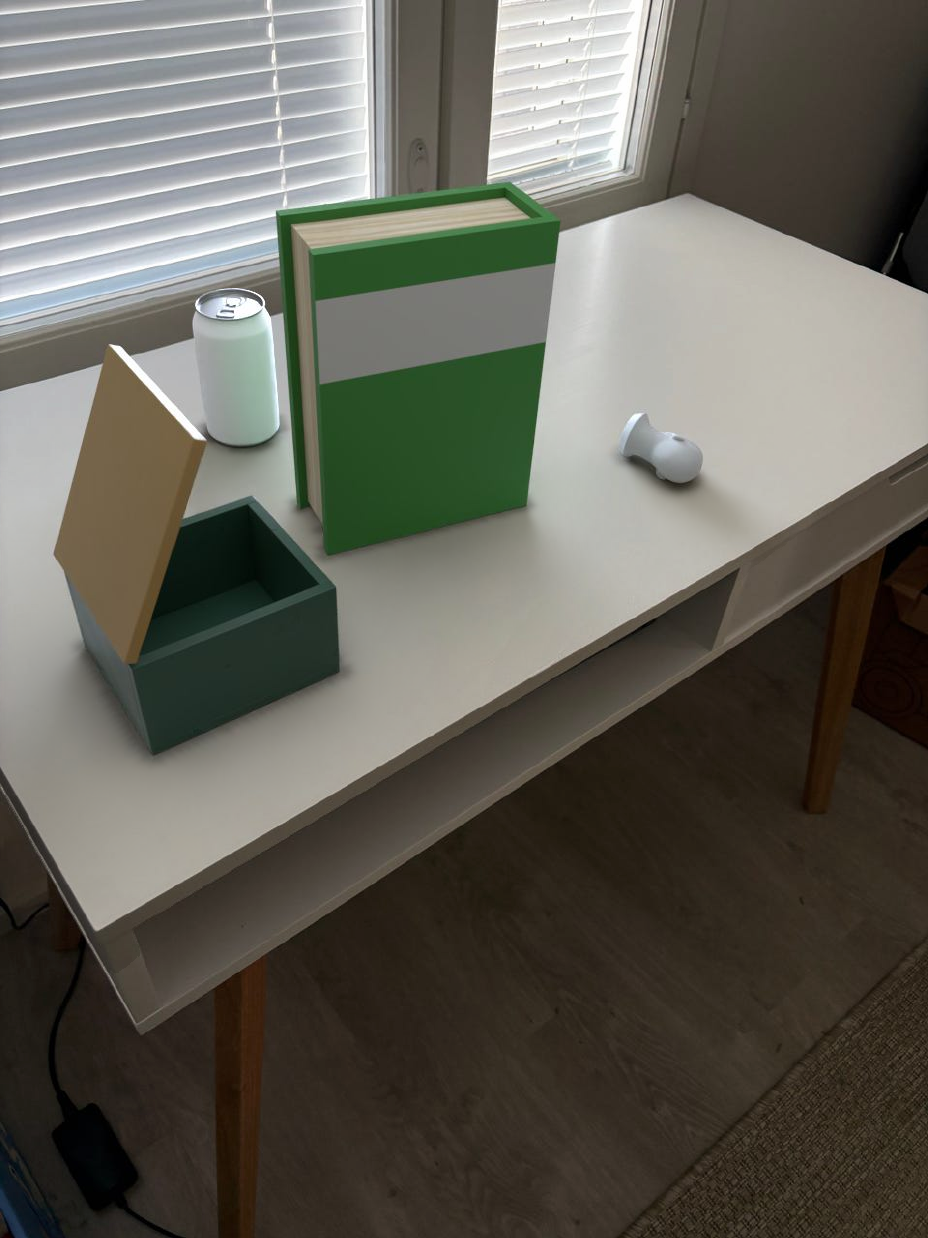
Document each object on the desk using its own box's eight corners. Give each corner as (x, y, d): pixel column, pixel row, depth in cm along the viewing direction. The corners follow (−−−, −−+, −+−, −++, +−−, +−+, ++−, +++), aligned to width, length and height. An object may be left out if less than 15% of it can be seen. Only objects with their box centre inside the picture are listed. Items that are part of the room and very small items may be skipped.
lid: (120, 345, 59) (107, 343, 58) (208, 440, 52) (194, 439, 51) (65, 554, 65) (52, 554, 64) (136, 664, 58) (123, 664, 58)
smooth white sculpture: (703, 491, 90) (670, 496, 86) (639, 448, 94) (605, 450, 91) (725, 448, 88) (691, 451, 84) (658, 405, 92) (623, 406, 88)
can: (287, 413, 93) (278, 289, 85) (270, 452, 88) (258, 325, 80) (218, 406, 93) (202, 282, 85) (197, 444, 89) (178, 317, 81)
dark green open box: (261, 578, 76) (252, 494, 71) (340, 671, 70) (336, 586, 64) (84, 646, 70) (60, 560, 65) (152, 756, 63) (131, 669, 58)
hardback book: (327, 555, 79) (313, 254, 62) (296, 502, 83) (275, 210, 67) (526, 505, 85) (560, 220, 69) (486, 458, 90) (510, 181, 73)
